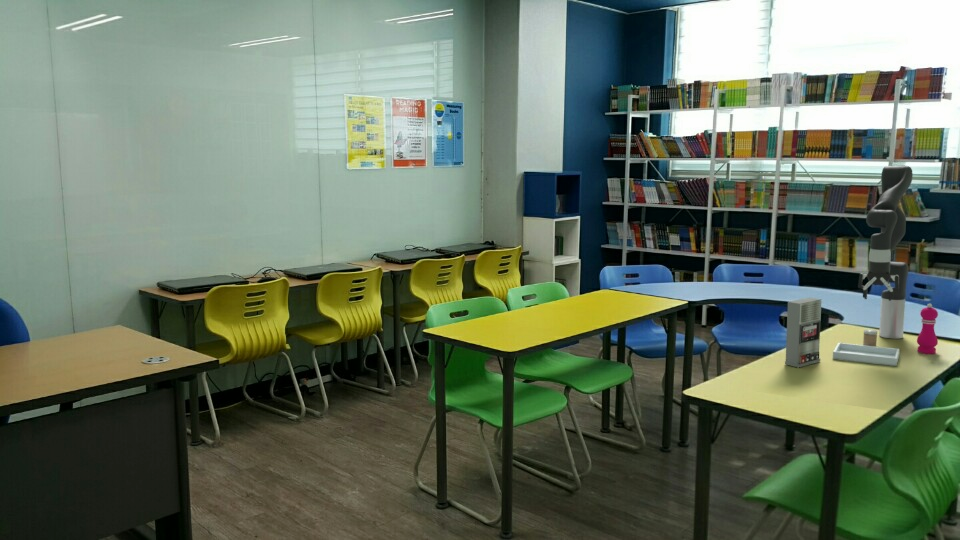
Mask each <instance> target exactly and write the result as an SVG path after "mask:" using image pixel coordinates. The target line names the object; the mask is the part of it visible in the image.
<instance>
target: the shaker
mask: <svg viewBox="0 0 960 540" xmlns="http://www.w3.org/2000/svg"><path fill="white" fill-rule="evenodd" d="M877 337H878V330H876V329H868V328H867V329H863V340H862V345H866V346H876V347H877Z"/></svg>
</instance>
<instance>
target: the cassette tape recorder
mask: <svg viewBox="0 0 960 540" xmlns="http://www.w3.org/2000/svg"><path fill="white" fill-rule="evenodd" d="M786 312H787V315H786V316H787V317H786V341H785V343H786V344H785V361H784V365H787V366H791V367H795V368H798V369H799V367H800V368H803V367H806V366H809V365H813V364H816V363H821V358H820V339H821V338H820V337H821V317H822V315H821V314H822V299H820V298H814V297H805V298H800V299H795V300H790V301H787V311H786Z"/></svg>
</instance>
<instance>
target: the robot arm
mask: <svg viewBox="0 0 960 540" xmlns="http://www.w3.org/2000/svg"><path fill="white" fill-rule="evenodd" d="M913 174H914V173H913V169H912V167H911V166H908V165H885V166H884V167H883V168H882V171H881V177H880V178H881V179H880V180H881V182H880V183H881V195H880V197H879V199H878V201H877V204H875V205H874V206H873V207H872V208H871V209H870V210H869V211H868V212H867V215H866V219H865V221H866V224H867V226H868V227H871V228H879V229H880V232H879V233H873V234H872V235H871V237H870V247H869V248H870V249H869V254H868V255H869V256H868V270H867V271H868V272H867V273H863V272H861V273H859V274H858V275H859V276H858V283H857V288H858V289H861V290H862V298H864V300H867V299H868V288H869V287H870V286H871V285H874V286H881V287H883V286H885V288H887V289H884V290H882V291H881V295H880V296H881V297H880V316H879V330H878V332H879V333H878V336H879V337H881V338H885V339H894V340H895V339H896V340H897V339H903V338H904V328H905V327H904V325H905V311H906V297H907V295H906V293H907V284H908V283H907V282H908V276H909V275H908V274H909V267H908V263H906V262H904V261H903V262H902V261H891V257H892V255H891V254H892V252H893V250H894V249H895V247H896V246H897V245H898V244H899V243H900V242H901V240H902V239H903V238H904V236H905V235H906V230H907V227H906V225H907V220H906V219H907V218H906V215H905V213H904V211H903V210H902V208H901V207H900V206H899V203H900V201H901V199H902V197H903V196H904V195H905V193H906V192H907V191H908V189H909V188H910V186H911V183H912V181H913V176H914V175H913ZM865 278H867V280H868V282H867V283H866V284H865V285H863V280H865ZM891 283H892V284H894V287H893V286H892V285H891Z"/></svg>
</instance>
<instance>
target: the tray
mask: <svg viewBox="0 0 960 540" xmlns="http://www.w3.org/2000/svg"><path fill="white" fill-rule="evenodd" d="M899 358H900V348H895V347H894V348H893V347H885V346H877V345H876V346H866V345H863V344H856V343H855V344H854V343H846V342H845V343H844V342H838V343H837V344H836V346H835V348H834V350H832V360H839V361H847V362H856V363H865V364H873V365H883V366H890V367H897V366H898V361H899Z"/></svg>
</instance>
